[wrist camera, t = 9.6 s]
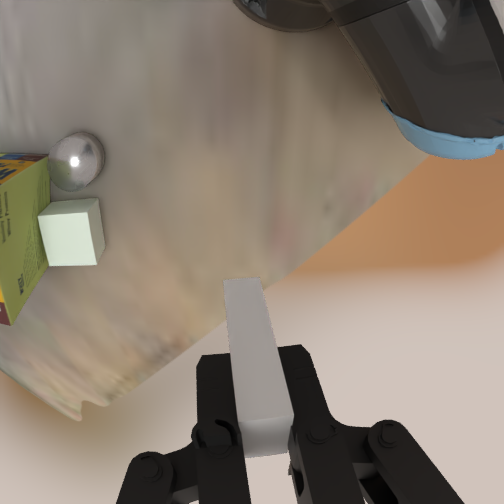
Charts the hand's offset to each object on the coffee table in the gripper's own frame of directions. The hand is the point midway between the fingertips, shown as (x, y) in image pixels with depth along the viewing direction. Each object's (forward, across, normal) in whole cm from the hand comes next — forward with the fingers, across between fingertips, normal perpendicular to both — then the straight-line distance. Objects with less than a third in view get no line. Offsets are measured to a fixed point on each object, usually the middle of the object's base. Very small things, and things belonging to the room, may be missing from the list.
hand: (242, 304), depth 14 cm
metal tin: (+27, -17, +2) cm, 32 cm away
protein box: (+27, -28, -3) cm, 39 cm away
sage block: (+27, -20, -7) cm, 34 cm away
